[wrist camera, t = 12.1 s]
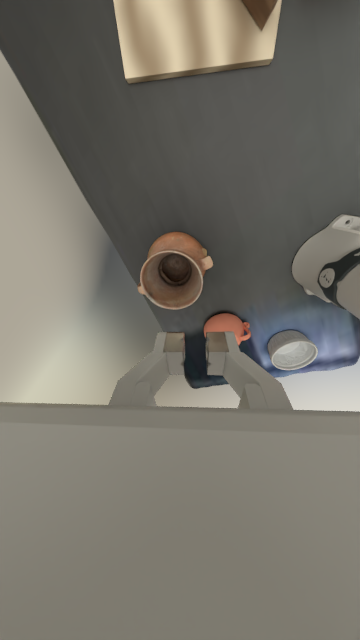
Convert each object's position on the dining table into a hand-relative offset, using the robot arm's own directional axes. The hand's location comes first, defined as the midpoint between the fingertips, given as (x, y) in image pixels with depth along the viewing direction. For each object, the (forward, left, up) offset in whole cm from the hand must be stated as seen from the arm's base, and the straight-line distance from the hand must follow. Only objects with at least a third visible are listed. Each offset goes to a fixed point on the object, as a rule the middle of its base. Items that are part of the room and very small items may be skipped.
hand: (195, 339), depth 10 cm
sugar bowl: (-10, +28, -37) cm, 48 cm away
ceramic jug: (+5, +7, -37) cm, 38 cm away
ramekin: (-31, +36, -37) cm, 60 cm away
